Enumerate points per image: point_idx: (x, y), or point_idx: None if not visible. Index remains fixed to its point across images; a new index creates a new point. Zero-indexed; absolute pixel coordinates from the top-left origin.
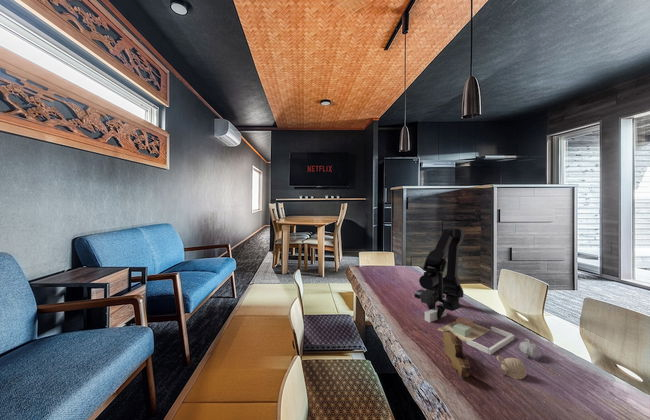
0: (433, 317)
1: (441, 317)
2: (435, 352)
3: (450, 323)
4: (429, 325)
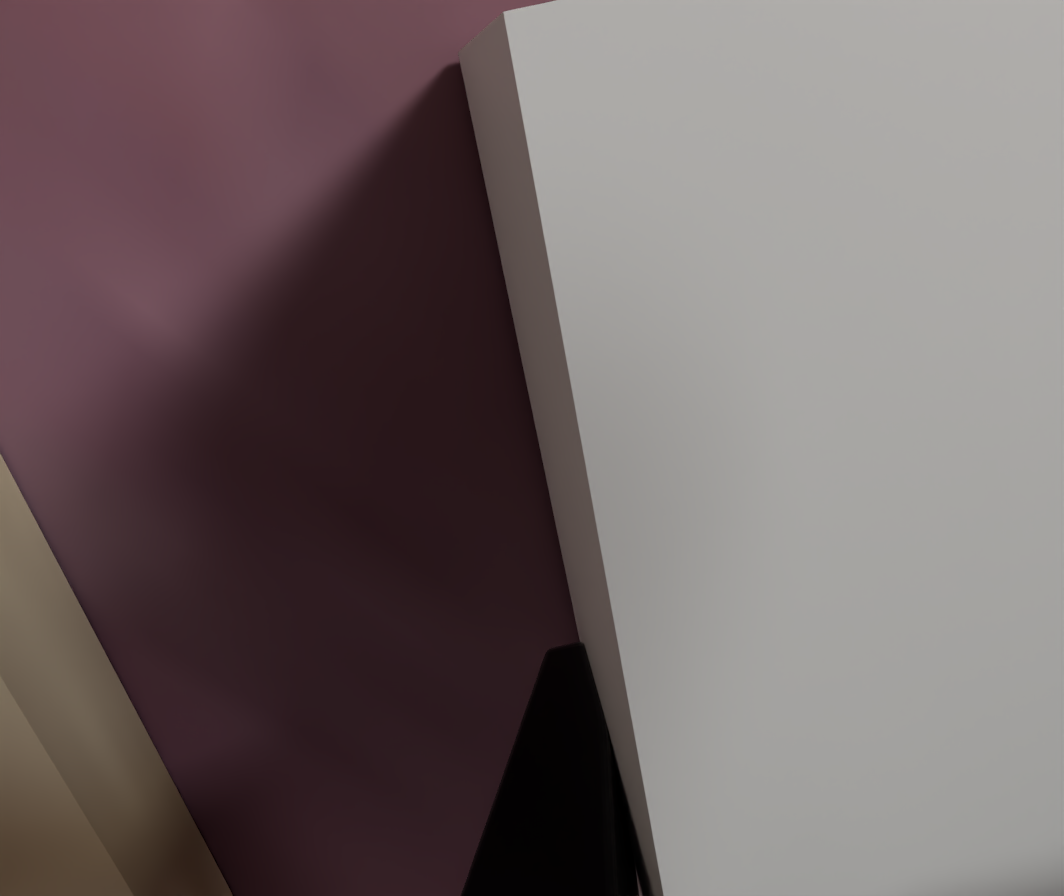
0: (552, 454)
1: None
2: None
3: (81, 835)
4: None
